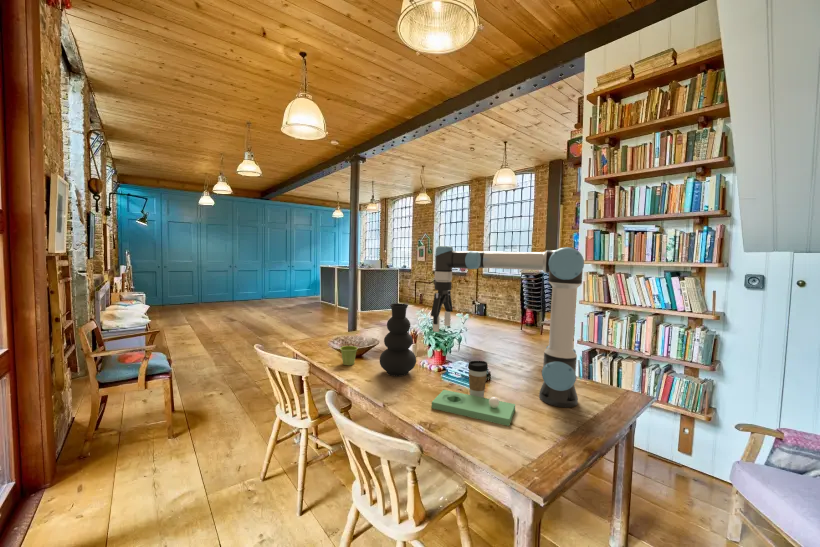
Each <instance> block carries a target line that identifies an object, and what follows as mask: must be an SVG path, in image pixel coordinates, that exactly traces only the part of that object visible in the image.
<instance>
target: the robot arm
mask: <svg viewBox="0 0 820 547" xmlns="http://www.w3.org/2000/svg"><path fill="white" fill-rule="evenodd" d="M434 259H435V260H434V266H435V267H434V271H435V272H434V273H433V275H434V280H435V281H434V290H436V291H437V292H435V293H434V298H433V303H432V308H431V312H430V316H431V317H432V332H434V333H435V332H436V333H440V325H441V324H440V322H441V321H440V320H441V318H440V313H441V310H442V307H444V315H443V317H444V319H443V322H444V323H443V324H444V326H446V327H451V319H452V318H451V316H452V315H451V312H453V302H452V293H451V291H452V288H453V285H452V284H453V282H452V281H453V269H463V270H465V269H466V270H467V269H468V270H478V269H499V270H500V269H501V270H502V269H503V270H504V269H505V270H525V271H526V270H527V271H529V270H531V271H543V272H544V273H546V274H548V283H549V284H550V285H551V287H552V289H551V304H550V321H549V333H548V334H549V335H548V336H549V337H548V346H546V348H545V349H544V350H543V363H542V364H543V367H542V369H541V377H542V380H543V383H542V384H541V387H540V390H539V395H538V397H539V400H541V401H542V402H543V403H546V404H548V405H551V406H554V407H559V408H574V407H577V405H578V404H579V403H578V401H579V397H578V394H577V390H576V387H575V383H576V381H577V375H576V372H577V361H578V360H577V359H578V356H577V352H576V349H575V348H574V338H575V323H576V322H575V321H576V307H577V293H578V288H579V287H580V286H582V284H583V271H584V270H583V269H584V267H585V259H584V257H583V254H582V253H581V252H580V251H579V250H578V249H576V248H574V247H568V246H566V247H564V246H563V247H559V248H558V249H554V250H553V249H552V250H551V249H549V250H548V249H547V250H546V249H545V251H543V252H538V251H537V252H533V251H532V252H531V251H530V252H529V251H528V252H527V251H521V252H520V251H481V250H479V251H477V250H454V249H453V246H451V245H450V246H447V245H445V246H443V245H438V246H437V247H436V248H435V255H434Z"/></svg>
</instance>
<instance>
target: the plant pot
mask: <svg viewBox="0 0 820 547" xmlns="http://www.w3.org/2000/svg"><path fill="white" fill-rule="evenodd" d="M358 349H359V348H358V346H355V345H345V346H344V345H343V346H341V347H339V350H340V353H341V359H342V360H341V361H342V364H343V365H345V366H353V365H354V364H355V361H356V356H357V351H358Z"/></svg>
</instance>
